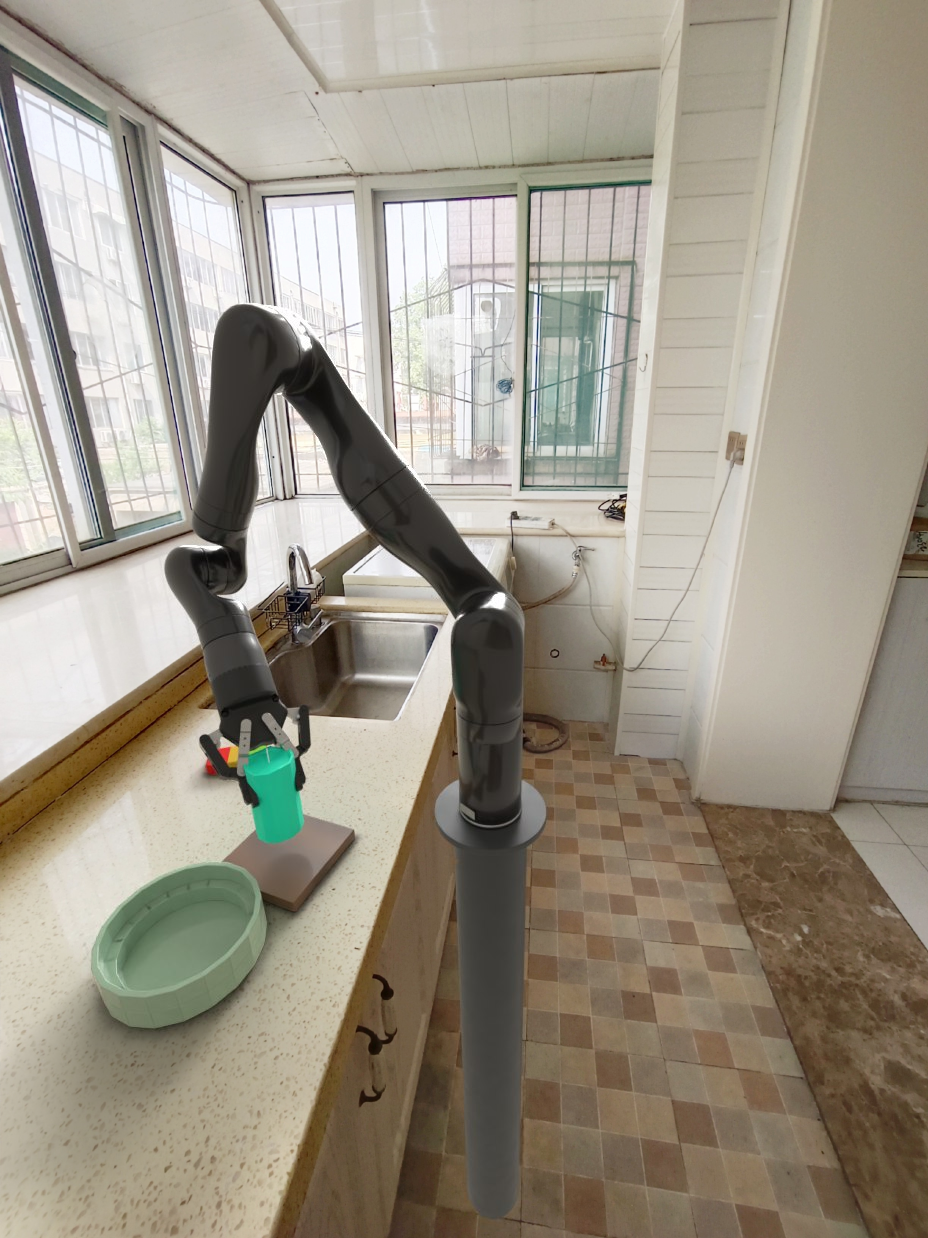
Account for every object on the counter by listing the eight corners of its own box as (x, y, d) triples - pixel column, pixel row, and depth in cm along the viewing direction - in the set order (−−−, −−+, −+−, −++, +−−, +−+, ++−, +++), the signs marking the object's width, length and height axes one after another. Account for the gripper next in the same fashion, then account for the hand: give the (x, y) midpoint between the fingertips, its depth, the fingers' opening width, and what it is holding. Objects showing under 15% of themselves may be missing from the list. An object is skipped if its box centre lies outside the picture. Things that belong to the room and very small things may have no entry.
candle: (312, 825, 70) (301, 748, 66) (269, 851, 67) (254, 770, 62) (289, 804, 74) (277, 729, 70) (247, 827, 70) (232, 749, 66)
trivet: (281, 814, 80) (279, 806, 80) (355, 837, 75) (354, 829, 75) (212, 881, 69) (210, 872, 68) (294, 913, 64) (293, 903, 64)
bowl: (194, 877, 70) (186, 847, 68) (296, 917, 64) (291, 885, 62) (67, 995, 56) (53, 961, 54) (183, 1060, 50) (171, 1024, 48)
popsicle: (211, 758, 94) (208, 748, 93) (300, 743, 98) (299, 734, 97) (205, 777, 89) (203, 767, 88) (300, 761, 93) (298, 752, 92)
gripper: (179, 679, 65) (217, 816, 60) (296, 650, 72) (339, 770, 67) (181, 699, 71) (216, 826, 66) (290, 671, 79) (328, 783, 74)
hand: (278, 797), depth 67 cm, fingers closed on candle, 4 cm apart
